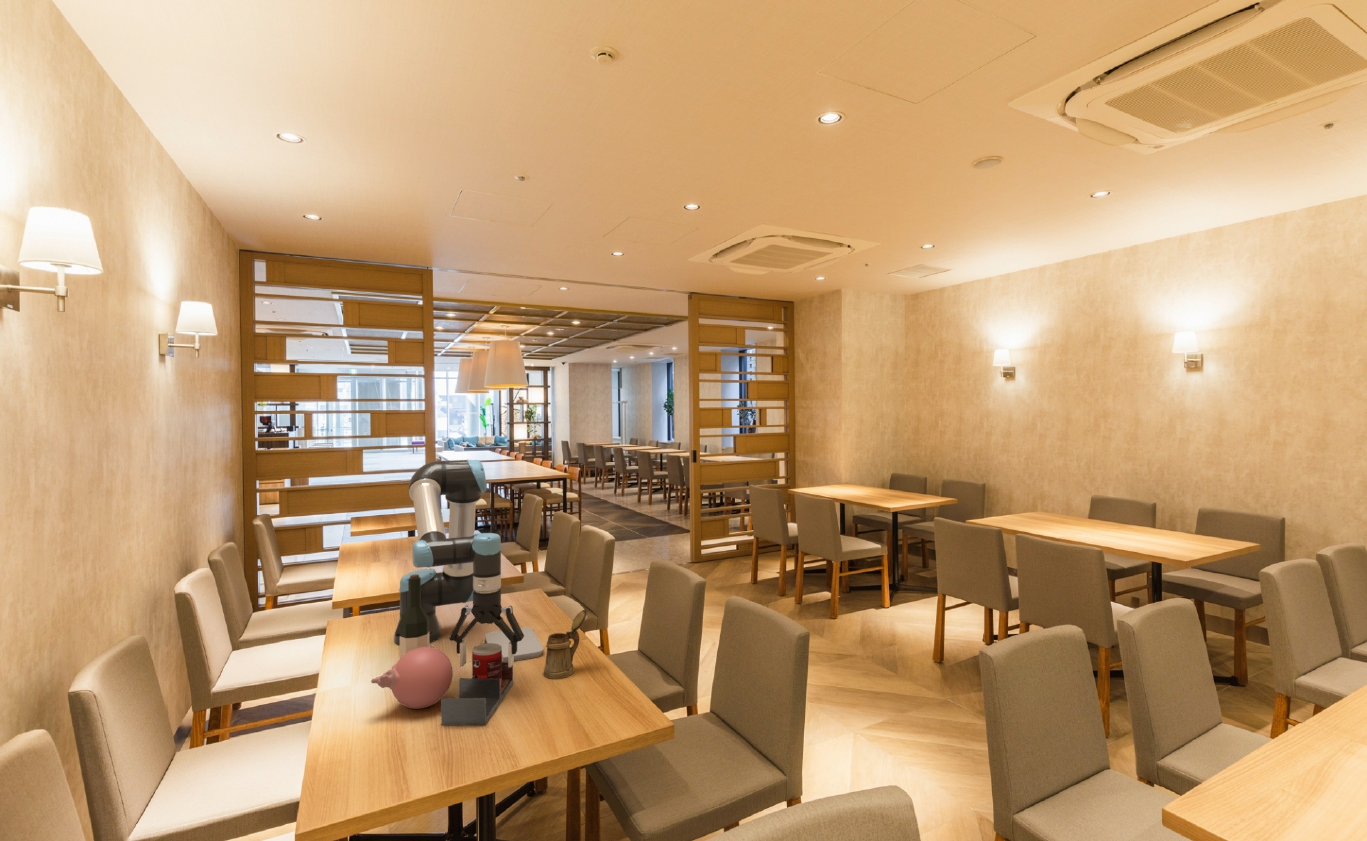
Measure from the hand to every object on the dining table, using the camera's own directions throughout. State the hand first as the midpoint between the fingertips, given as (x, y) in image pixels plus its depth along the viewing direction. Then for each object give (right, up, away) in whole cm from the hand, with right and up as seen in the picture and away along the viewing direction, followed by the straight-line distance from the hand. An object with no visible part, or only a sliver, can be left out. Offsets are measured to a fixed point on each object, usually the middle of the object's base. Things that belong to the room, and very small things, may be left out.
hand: (487, 665), depth 172 cm
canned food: (0, -6, 0) cm, 6 cm away
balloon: (-17, -8, -9) cm, 21 cm away
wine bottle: (-26, -8, +12) cm, 30 cm away
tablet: (-2, -9, +35) cm, 36 cm away
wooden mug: (+19, -8, +15) cm, 25 cm away
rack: (0, -8, -6) cm, 10 cm away
